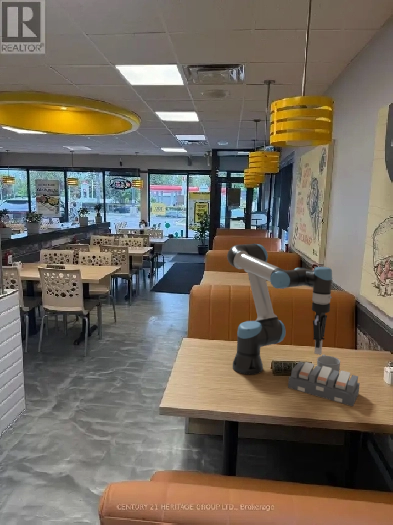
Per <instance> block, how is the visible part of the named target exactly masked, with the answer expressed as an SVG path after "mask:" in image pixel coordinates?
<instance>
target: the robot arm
mask: <svg viewBox="0 0 393 525" xmlns="http://www.w3.org/2000/svg"><path fill="white" fill-rule="evenodd" d="M268 255H269V254H268V251H267V249H266V248H265V247H264V246H263V245H262V244H260V243H259V244H258V243H247V244H235V245H232V247H230V248H229V250H228V251H227V255H226V258H227V261H228V263H229V265H230V266H232V267H233V268H235V269H238V270H243V271H244V272H245V273H247V276H248V280H249V284H250V289H251V294H252V299H253V301H254V302H253V304H254V306H255V311H256V314H257V317H256V319H255V320H246V321H244V322H241V323H240V324H239V325H238V327H237V332H236V333H237V334H236V335H237V339H236V342H237V343H236V353H235V356H234V358H233V361H232V369H233V371H235V372H237V373H239V374H241V375H249V376H250V375H257V374H260V373H262V372H263V368H264V365H263V361H262V360H263V359H262V358H261V357H262V356H261V347H267V346H271V345H276V344H279V343H281V342H283V341H284V339H285V337H286V333H287V332H286V327H285V324H284V322H283V321H282V320H279V317H278V316H277V314H275V313H274V309H273V304H272V299H271V297H270V293H269V292H270V291H269V287H268V283H267V281H268V282H270V284H271V285H272V288H275V289H277V290H278V289H287V288H294V287H302V286H303V287H304V286H306V287H311V288H312V299H311V300H312V302H311V303H312V304H311V310H312V312H315V314H314V319H313V320H312V324H313V325H312V326H313V331H312V332H313V340H314V354H315V355H319V356H322V355H323V353H322V352H323V340H325V332H326V325H327V318H328V315H327V313H329V312H330V311H331V304H330V303H331V299H332V298H333V297H332V296H331V294H332V291H331V290H332V283H333V270H332V268H330V267H327V266H326V267H325V266H315V267H314V269H309V268H305V267H296V268H294V269H291V270H290V269H289V270H286V269H283V268H280V267H278V266H277V265H274V264H271V263H268V258H269V257H268Z"/></svg>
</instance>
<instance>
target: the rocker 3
mask: <svg viewBox="0 0 393 525" xmlns="http://www.w3.org/2000/svg"><path fill="white" fill-rule="evenodd" d="M350 378H351V372H350V371H346V370H339V377H338V379H337V382H336V384H335V388H339V389H343V390H345V389H346V386H347V383H348V380H350Z"/></svg>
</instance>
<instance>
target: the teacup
mask: <svg viewBox="0 0 393 525" xmlns="http://www.w3.org/2000/svg"><path fill="white" fill-rule="evenodd" d="M316 363H317V364H316V366H319V367H321V369H322V367H323V366H325V367H330V368H332V371H331V374H332V372H333V371H334V370H335V371H339V372H340V371H341V370H340V369H341V368H340V367H341V360H340V359H339V358H337V357H335V356H331V355H326V354H321V355H319V356H318V357H317V358H316ZM331 374H330V375H331Z"/></svg>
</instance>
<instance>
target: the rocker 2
mask: <svg viewBox="0 0 393 525" xmlns="http://www.w3.org/2000/svg"><path fill="white" fill-rule="evenodd" d="M331 371H332V368H330V367H325V366H323V367H322V369H321V371H320V373H319V375H318V378H317V383H321V384H324V385H326V384H327V381H328V378H329V376H330V374H331Z"/></svg>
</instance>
